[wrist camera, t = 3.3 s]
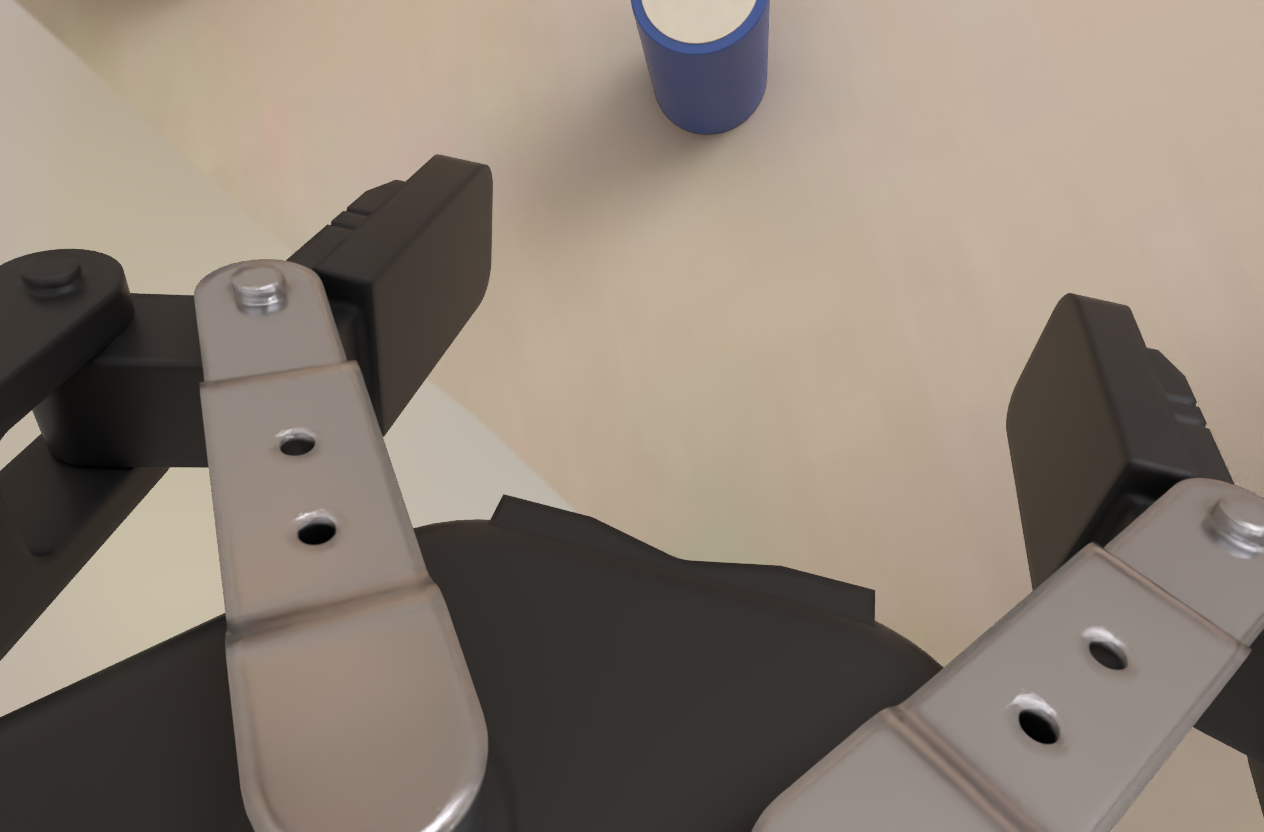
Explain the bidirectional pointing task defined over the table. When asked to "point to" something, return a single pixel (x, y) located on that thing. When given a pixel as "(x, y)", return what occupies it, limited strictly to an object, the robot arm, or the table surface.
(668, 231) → the table surface
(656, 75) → the blue cylinder with handle
